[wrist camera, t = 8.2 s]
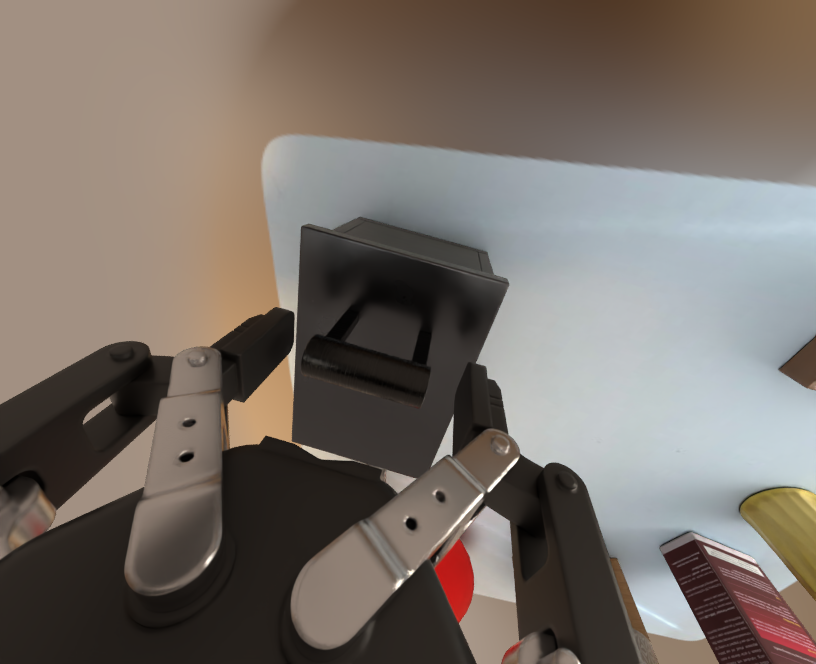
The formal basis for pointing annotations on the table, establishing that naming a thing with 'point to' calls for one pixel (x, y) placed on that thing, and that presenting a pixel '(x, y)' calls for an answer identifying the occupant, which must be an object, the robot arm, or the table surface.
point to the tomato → (457, 579)
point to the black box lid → (383, 347)
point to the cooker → (418, 243)
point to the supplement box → (737, 604)
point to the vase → (787, 529)
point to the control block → (803, 366)
